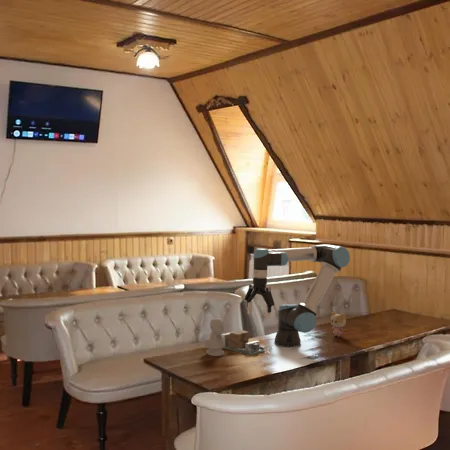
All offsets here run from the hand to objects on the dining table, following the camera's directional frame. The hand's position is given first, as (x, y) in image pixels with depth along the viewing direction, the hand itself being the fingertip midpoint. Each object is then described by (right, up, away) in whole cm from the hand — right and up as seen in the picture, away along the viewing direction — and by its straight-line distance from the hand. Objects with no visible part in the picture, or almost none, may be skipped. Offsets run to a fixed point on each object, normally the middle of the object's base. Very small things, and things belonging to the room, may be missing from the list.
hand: (258, 316), depth 319 cm
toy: (+52, -20, +46) cm, 72 cm away
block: (-10, -19, +11) cm, 24 cm away
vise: (-9, -20, +10) cm, 24 cm away
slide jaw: (-2, -19, +3) cm, 19 cm away
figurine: (-23, -20, -1) cm, 31 cm away
